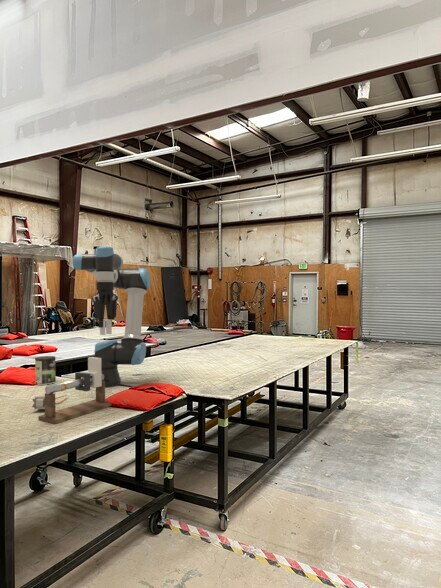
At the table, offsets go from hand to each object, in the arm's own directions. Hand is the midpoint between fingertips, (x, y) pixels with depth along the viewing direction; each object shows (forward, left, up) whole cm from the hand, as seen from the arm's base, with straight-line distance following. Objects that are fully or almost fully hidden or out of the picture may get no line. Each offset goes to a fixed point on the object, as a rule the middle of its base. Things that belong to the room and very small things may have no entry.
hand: (105, 334), depth 178 cm
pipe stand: (+16, 0, -31) cm, 34 cm away
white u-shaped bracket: (+7, 0, -22) cm, 23 cm away
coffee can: (-12, -60, -31) cm, 68 cm away
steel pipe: (+16, 0, -20) cm, 26 cm away
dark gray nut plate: (+13, 0, -22) cm, 26 cm away
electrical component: (+13, -20, -31) cm, 39 cm away
